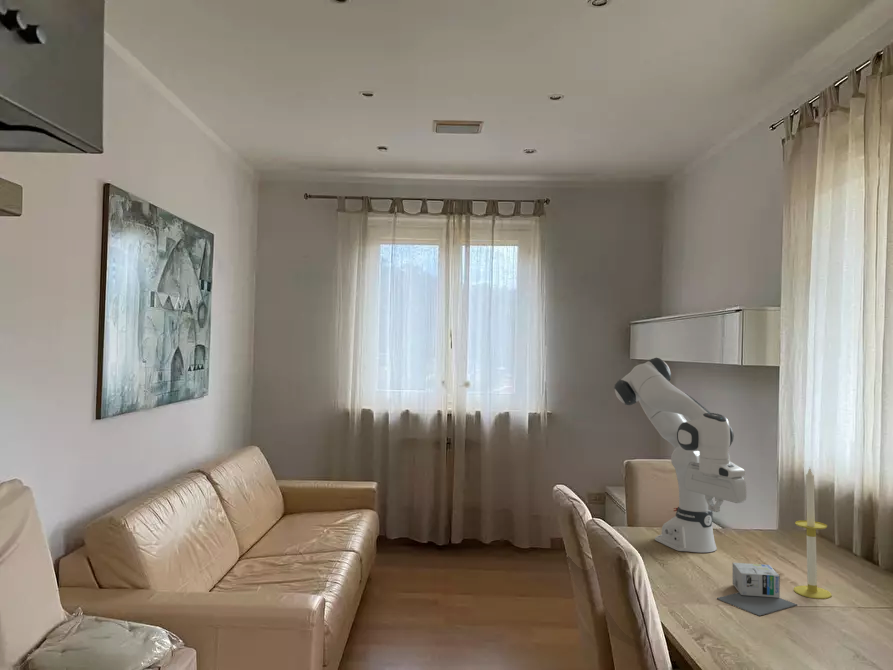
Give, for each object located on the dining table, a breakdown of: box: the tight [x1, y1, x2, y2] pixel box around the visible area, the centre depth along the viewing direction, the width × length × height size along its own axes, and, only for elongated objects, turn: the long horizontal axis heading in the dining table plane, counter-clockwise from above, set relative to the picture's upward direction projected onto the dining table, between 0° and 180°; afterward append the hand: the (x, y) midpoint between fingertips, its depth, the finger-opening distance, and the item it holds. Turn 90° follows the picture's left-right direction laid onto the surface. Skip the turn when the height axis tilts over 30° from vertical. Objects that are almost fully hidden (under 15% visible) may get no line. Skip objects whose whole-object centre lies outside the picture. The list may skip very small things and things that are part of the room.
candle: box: [793, 468, 833, 600], centre depth 194 cm, size 10×10×38 cm
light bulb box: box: [732, 562, 781, 598], centre depth 194 cm, size 11×7×11 cm
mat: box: [716, 591, 798, 617], centre depth 186 cm, size 14×16×1 cm
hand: (714, 511), depth 200 cm, fingers closed
